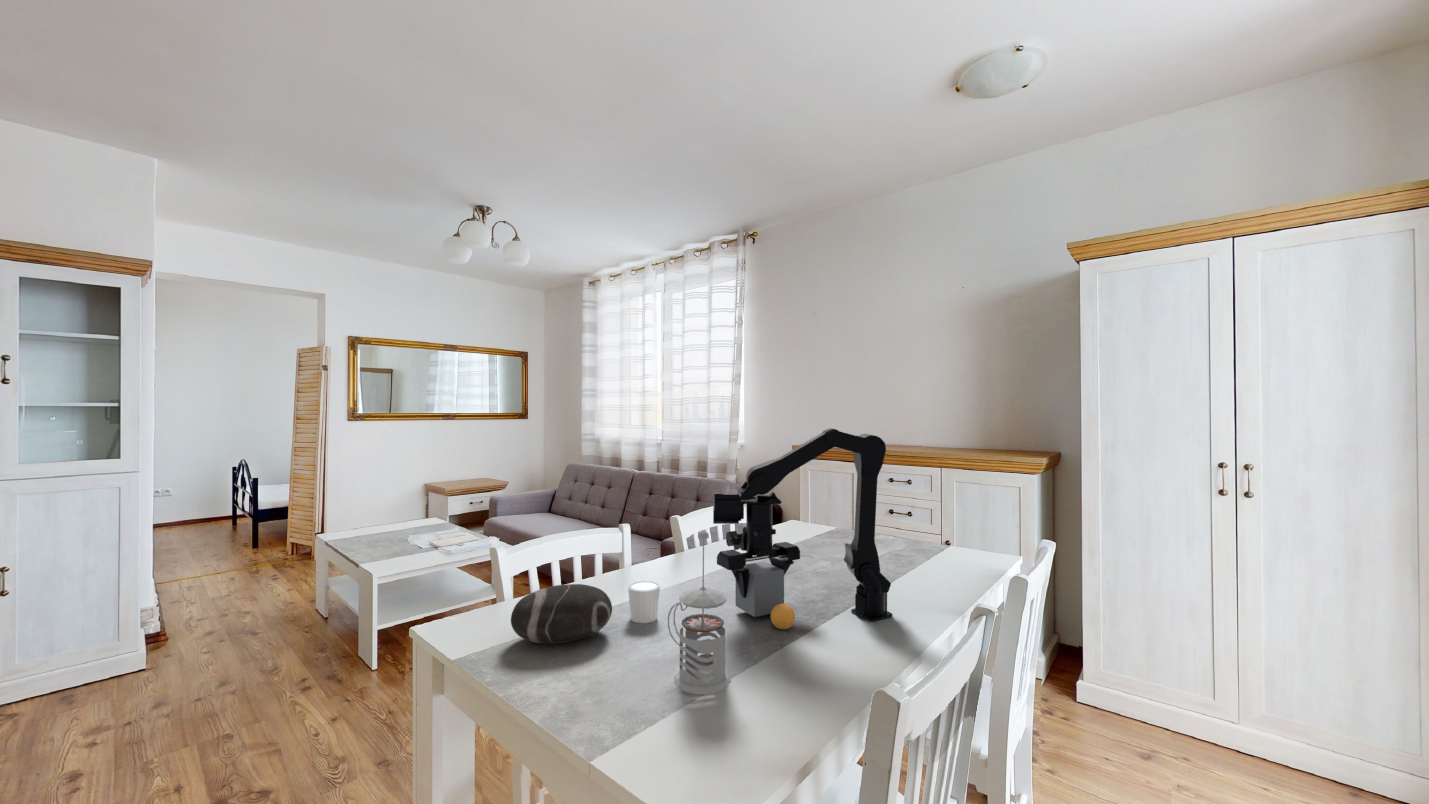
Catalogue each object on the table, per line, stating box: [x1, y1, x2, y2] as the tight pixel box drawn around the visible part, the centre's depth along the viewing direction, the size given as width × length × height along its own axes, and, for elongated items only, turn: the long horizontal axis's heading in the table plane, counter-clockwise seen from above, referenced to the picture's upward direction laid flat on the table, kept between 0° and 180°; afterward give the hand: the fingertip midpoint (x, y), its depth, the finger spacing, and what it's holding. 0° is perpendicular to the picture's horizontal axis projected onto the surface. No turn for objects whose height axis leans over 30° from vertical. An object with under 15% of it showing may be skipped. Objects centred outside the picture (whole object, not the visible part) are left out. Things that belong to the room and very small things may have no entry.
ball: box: [770, 603, 796, 630], centre depth 116 cm, size 5×5×5 cm
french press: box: [667, 530, 732, 695], centre depth 95 cm, size 10×12×25 cm
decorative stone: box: [510, 583, 613, 644], centre depth 111 cm, size 19×14×10 cm
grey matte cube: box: [735, 561, 785, 618], centre depth 124 cm, size 8×8×9 cm
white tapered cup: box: [627, 580, 661, 624], centre depth 121 cm, size 7×7×7 cm
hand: (759, 594), depth 124 cm, fingers closed on grey matte cube, 8 cm apart
